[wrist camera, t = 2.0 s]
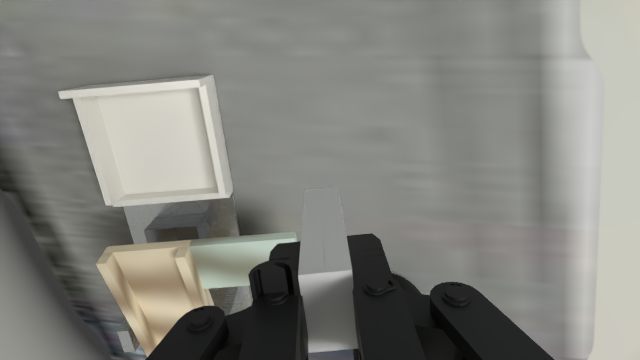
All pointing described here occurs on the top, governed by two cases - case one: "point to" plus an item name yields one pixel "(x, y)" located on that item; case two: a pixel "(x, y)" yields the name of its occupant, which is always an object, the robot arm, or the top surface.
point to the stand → (186, 225)
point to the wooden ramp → (178, 277)
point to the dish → (155, 140)
